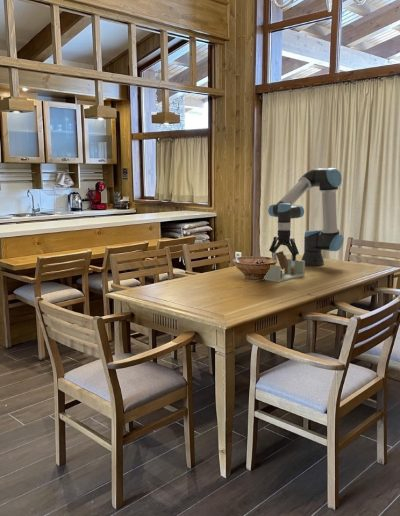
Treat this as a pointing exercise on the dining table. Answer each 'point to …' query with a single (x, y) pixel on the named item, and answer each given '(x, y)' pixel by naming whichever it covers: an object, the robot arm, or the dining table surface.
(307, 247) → the robot arm
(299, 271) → the peg stand
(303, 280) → the dining table surface
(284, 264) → the wooden block set
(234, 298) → the dining table surface
